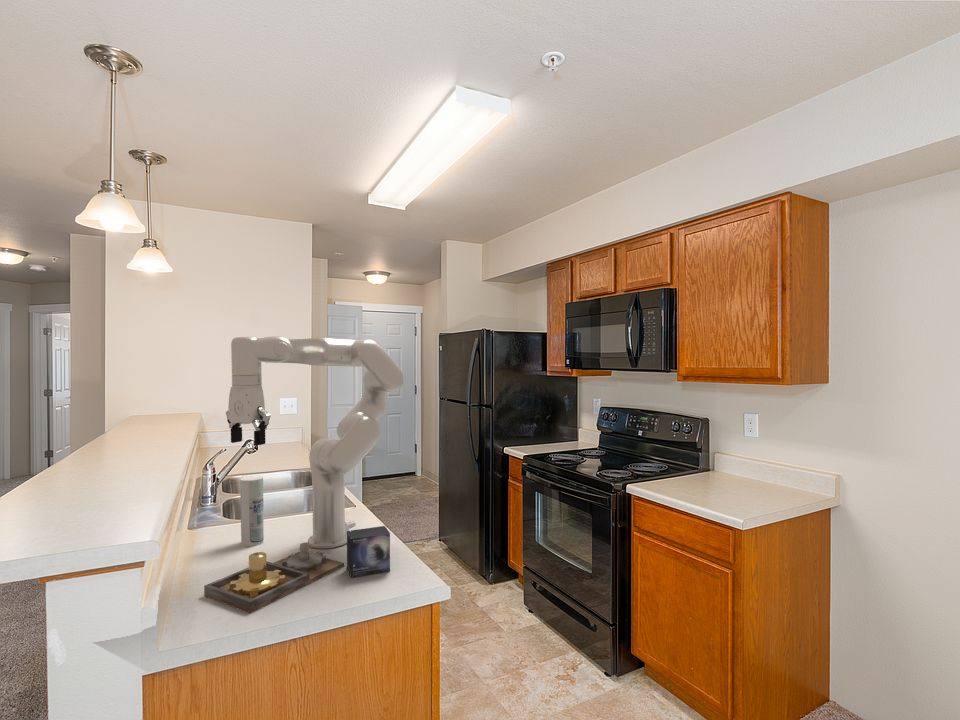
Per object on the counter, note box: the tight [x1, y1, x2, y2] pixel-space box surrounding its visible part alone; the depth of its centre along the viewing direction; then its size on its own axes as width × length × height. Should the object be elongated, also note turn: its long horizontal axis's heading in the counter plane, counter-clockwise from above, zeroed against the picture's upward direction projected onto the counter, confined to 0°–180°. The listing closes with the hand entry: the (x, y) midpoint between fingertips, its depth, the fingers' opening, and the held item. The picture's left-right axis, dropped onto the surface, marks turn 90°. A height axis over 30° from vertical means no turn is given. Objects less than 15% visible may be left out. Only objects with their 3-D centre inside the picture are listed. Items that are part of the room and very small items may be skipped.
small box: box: [346, 525, 391, 579], centre depth 138 cm, size 11×6×10 cm, turn 114°
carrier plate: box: [203, 542, 345, 614], centre depth 133 cm, size 29×17×6 cm, turn 150°
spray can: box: [239, 475, 265, 547], centre depth 159 cm, size 6×6×20 cm
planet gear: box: [230, 551, 285, 598], centre depth 127 cm, size 12×12×8 cm
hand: (248, 443), depth 144 cm, fingers open, 9 cm apart
